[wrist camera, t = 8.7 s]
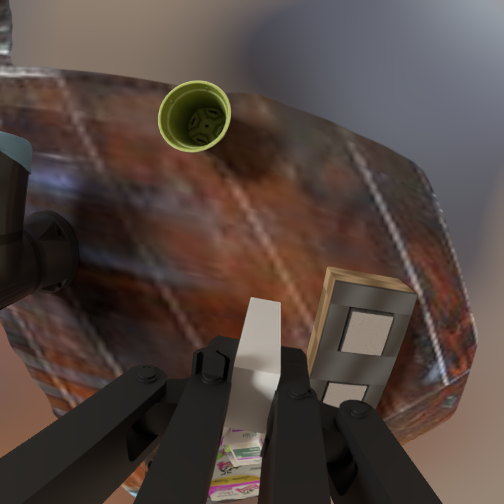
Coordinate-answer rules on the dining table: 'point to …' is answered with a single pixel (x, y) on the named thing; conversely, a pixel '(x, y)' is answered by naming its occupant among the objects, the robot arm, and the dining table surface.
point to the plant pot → (194, 116)
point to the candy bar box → (233, 479)
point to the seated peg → (342, 392)
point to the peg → (365, 331)
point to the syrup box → (243, 447)
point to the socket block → (333, 321)
